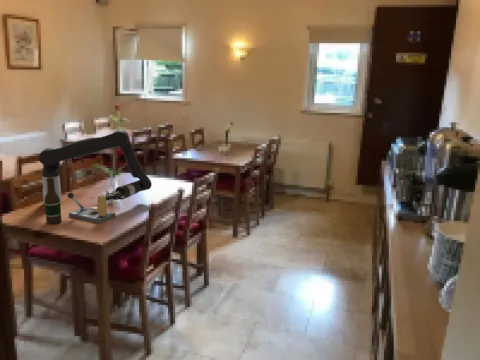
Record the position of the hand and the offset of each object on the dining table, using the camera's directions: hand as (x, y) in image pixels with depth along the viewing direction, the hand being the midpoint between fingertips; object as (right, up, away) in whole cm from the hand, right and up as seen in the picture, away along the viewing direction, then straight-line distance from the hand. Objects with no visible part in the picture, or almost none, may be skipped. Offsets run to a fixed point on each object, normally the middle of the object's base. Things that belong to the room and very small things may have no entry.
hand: (104, 199), depth 220 cm
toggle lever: (-15, -5, +8) cm, 18 cm away
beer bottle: (-25, -12, -5) cm, 28 cm away
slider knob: (-1, -9, 0) cm, 9 cm away
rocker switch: (-7, -7, +6) cm, 12 cm away
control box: (-8, -10, +5) cm, 14 cm away
